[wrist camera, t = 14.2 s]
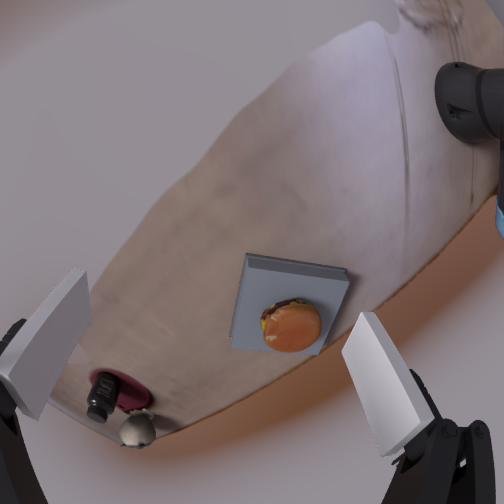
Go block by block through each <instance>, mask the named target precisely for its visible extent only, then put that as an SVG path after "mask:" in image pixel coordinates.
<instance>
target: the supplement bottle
mask: <svg viewBox="0 0 504 504" xmlns="http://www.w3.org/2000/svg"><path fill="white" fill-rule="evenodd" d="M121 386H122V385H121V382H120V380H119V379H118V378H117V377H115V376H114V375H112V374H110V373H107V372H100V373H98V374H97V376H96V378H95V381H94V383H93V385H92V388H91V390H90V393H89V395H88V398H87V403H88V405H89V407H88V411H87V416H88V417H89V418H90V419H92V420H94V421H96V422H98V423H106V420H107V418H108V415H111V414H112V413H113V412H114V409H115V406H116V403H117V399H118V396H119V393H120V390H121Z"/></svg>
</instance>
